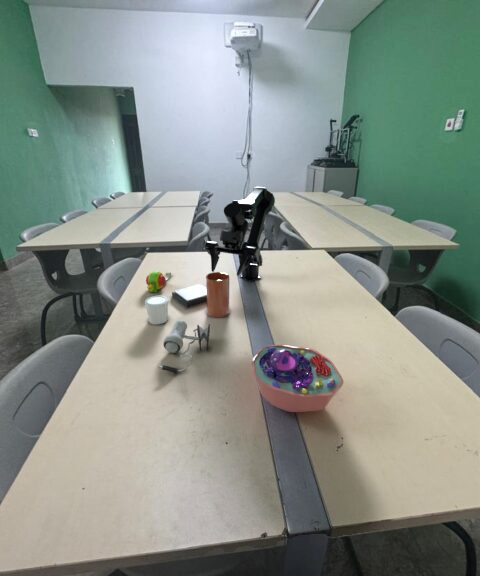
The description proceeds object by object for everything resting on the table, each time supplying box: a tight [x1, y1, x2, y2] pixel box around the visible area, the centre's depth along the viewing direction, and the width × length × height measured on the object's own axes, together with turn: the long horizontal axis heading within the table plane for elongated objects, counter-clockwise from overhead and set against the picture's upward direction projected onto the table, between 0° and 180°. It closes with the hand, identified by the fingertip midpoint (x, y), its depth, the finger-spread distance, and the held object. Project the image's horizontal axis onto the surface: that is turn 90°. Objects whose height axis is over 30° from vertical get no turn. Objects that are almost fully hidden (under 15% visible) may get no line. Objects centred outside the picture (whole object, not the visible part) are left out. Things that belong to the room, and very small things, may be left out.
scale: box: [171, 283, 207, 309], centre depth 115 cm, size 12×11×2 cm
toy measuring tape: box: [145, 270, 172, 293], centre depth 124 cm, size 6×20×7 cm, turn 173°
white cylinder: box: [144, 295, 169, 325], centre depth 99 cm, size 7×7×7 cm
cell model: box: [251, 344, 344, 413], centre depth 69 cm, size 17×20×11 cm
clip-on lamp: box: [158, 320, 211, 374], centre depth 83 cm, size 12×6×18 cm
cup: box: [205, 271, 230, 318], centre depth 103 cm, size 7×7×13 cm
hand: (224, 273), depth 106 cm, fingers open, 9 cm apart
